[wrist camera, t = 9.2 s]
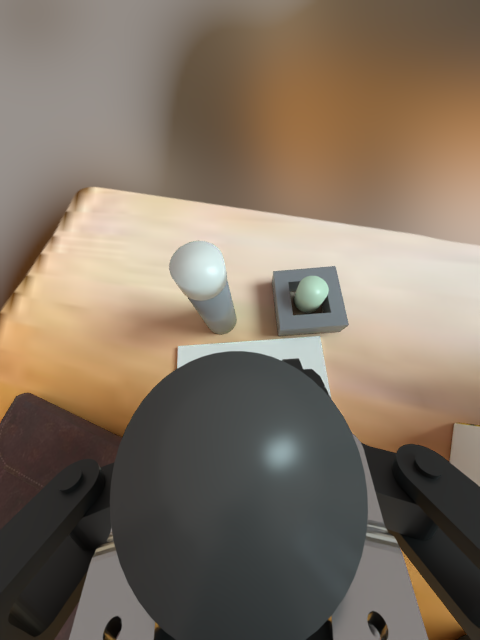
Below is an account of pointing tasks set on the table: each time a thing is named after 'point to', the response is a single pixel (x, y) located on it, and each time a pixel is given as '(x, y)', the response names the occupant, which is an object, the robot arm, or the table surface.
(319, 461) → the marker
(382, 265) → the table surface
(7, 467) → the notebook
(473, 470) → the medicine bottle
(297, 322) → the button housing
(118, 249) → the table surface
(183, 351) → the sheet
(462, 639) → the pen holder
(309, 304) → the button
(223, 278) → the grey marker
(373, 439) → the table surface
